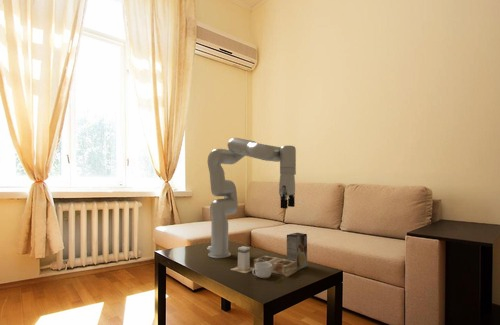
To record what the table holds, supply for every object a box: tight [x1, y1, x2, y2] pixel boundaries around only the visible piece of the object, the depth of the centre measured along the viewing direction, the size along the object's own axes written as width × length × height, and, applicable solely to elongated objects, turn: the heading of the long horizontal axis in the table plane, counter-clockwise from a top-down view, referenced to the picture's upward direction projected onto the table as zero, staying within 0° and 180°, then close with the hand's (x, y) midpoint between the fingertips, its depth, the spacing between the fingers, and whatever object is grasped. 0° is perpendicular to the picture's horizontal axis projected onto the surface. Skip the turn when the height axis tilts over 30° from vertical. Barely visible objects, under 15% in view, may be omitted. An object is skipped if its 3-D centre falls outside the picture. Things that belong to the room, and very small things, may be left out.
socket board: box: [253, 254, 298, 278], centre depth 138 cm, size 18×10×5 cm, turn 54°
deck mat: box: [230, 266, 255, 274], centre depth 138 cm, size 9×9×1 cm
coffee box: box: [286, 232, 308, 271], centre depth 144 cm, size 9×6×16 cm
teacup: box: [251, 262, 273, 279], centre depth 128 cm, size 10×8×5 cm
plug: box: [237, 245, 251, 271], centre depth 138 cm, size 4×4×10 cm
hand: (287, 207), depth 138 cm, fingers open, 9 cm apart
